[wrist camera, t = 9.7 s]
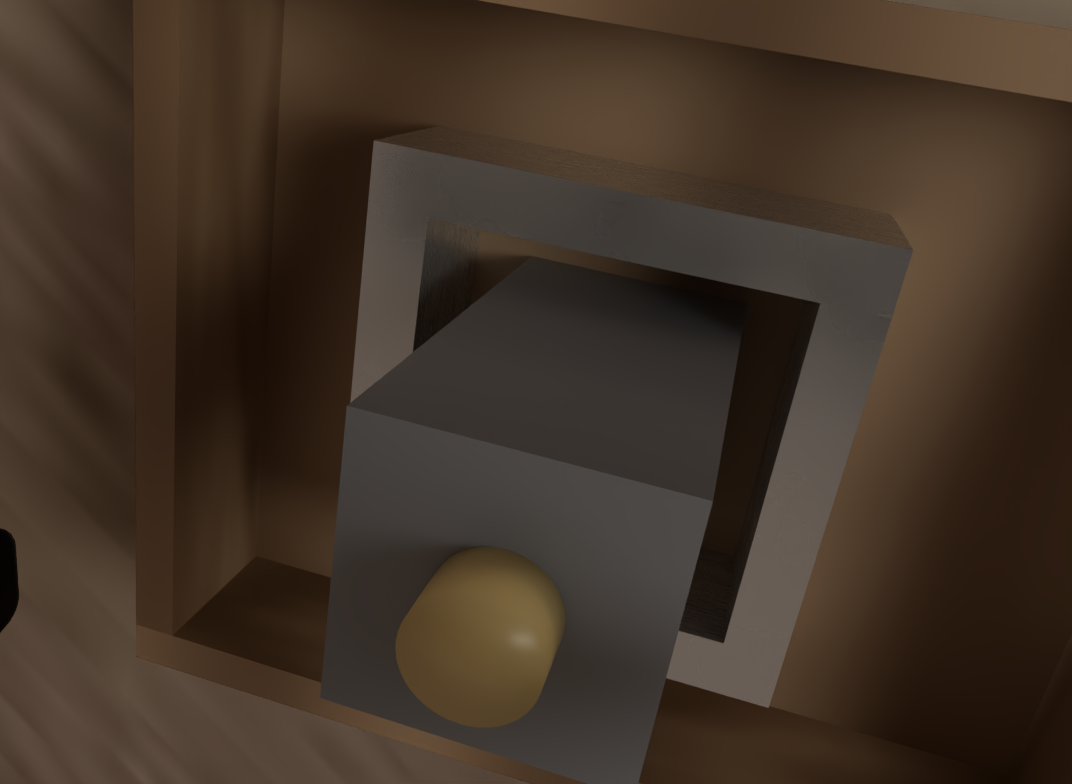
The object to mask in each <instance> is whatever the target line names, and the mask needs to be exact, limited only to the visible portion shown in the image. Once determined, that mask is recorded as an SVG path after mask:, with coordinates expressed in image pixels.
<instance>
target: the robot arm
mask: <svg viewBox="0 0 1072 784" xmlns="http://www.w3.org/2000/svg"><path fill="white" fill-rule="evenodd" d="M18 600H19V588H18V572H17V557H16V544H15V540H14V538H13V537H12V535H11V533H9V532H8V531H6V530H4V529H1V528H0V632H1V631H2V630H3V629H4V628H5V627H6V625H7V624H8V623H9V622H10V620H11V619H12V617H13V615H14V613H15V611H16V608H17V605H18Z"/></svg>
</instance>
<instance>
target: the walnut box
mask: <svg viewBox="0 0 1072 784" xmlns="http://www.w3.org/2000/svg"><path fill="white" fill-rule="evenodd" d="M133 118H134V295H135V472H136V648H137V657H138V658H141V659H144V660H147V661H150V662H153V663H156V664H160V665H163V666H166V667H169V668H172V669H175V670H178V671H181V672H185V673H188V674H191V675H194V676H197V677H200V678H203V679H206V680H209V681H213V682H216V683H219V684H222V685H225V686H228V687H231V688H234V689H237V690H241V691H244V692H247V693H250V694H253V695H256V696H259V697H262V698H266V699H269V700H272V701H275V702H278V703H281V704H284V705H287V706H290V707H294V708H297V709H300V710H303V711H306V712H309V713H312V714H315V715H318V716H322V717H325V718H328V719H331V720H334V721H337V722H340V723H343V724H346V725H350V726H353V727H356V728H359V729H362V730H365V731H368V732H371V733H375V734H378V735H381V736H384V737H387V738H390V739H393V740H396V741H399V742H403V743H406V744H409V745H412V746H415V747H418V748H421V749H424V750H427V751H431V752H434V753H437V754H440V755H443V756H446V757H449V758H452V759H456V760H459V761H462V762H465V763H468V764H471V765H474V766H477V767H480V768H484V769H487V770H490V771H493V772H496V773H499V774H502V775H505V776H508V777H512V778H515V779H518V780H521V781H524V782H527V783H530V784H586V783H583V782H580V781H577V780H574V779H571V778H568V777H564V776H561V775H558V774H555V773H552V772H549V771H546V770H543V769H540V768H536V767H533V766H530V765H527V764H524V763H521V762H518V761H515V760H511V759H508V758H505V757H502V756H499V755H496V754H493V753H490V752H487V751H483V750H480V749H477V748H474V747H471V746H468V745H465V744H462V743H458V742H455V741H452V740H449V739H446V738H443V737H440V736H437V735H434V734H430V733H427V732H424V731H421V730H418V729H415V728H412V727H409V726H405V725H402V724H399V723H396V722H393V721H390V720H387V719H384V718H381V717H377V716H374V715H371V714H368V713H365V712H362V711H359V710H356V709H352V708H349V707H346V706H343V705H340V704H337V703H334V702H331V701H328V700H324V699H321V698H320V693H321V682H322V671H323V660H324V649H325V638H326V627H327V617H328V606H329V595H330V584H331V573H332V562H333V551H334V540H335V529H336V518H337V507H338V497H339V486H340V475H341V464H342V453H343V442H344V431H345V420H346V409H347V405H348V404H350V401H351V390H352V378H353V367H354V356H355V345H356V334H357V322H358V311H359V300H360V289H361V278H362V266H363V255H364V244H365V233H366V222H367V210H368V199H369V188H370V177H371V166H372V154H373V143H374V140H378V139H382V138H387V137H391V136H396V135H400V134H404V133H409V132H413V131H418V130H422V129H427V128H431V127H436V126H440V125H441V126H446V127H451V128H456V129H461V130H466V131H471V132H477V133H482V134H487V135H492V136H497V137H502V138H507V139H512V140H517V141H522V142H527V143H532V144H537V145H542V146H547V147H553V148H558V149H563V150H568V151H573V152H578V153H583V154H588V155H593V156H598V157H603V158H608V159H613V160H618V161H623V162H628V163H634V164H639V165H644V166H649V167H654V168H659V169H664V170H669V171H674V172H679V173H684V174H689V175H694V176H699V177H704V178H710V179H715V180H720V181H725V182H730V183H735V184H740V185H745V186H750V187H755V188H760V189H765V190H770V191H775V192H780V193H785V194H791V195H796V196H801V197H806V198H811V199H816V200H821V201H826V202H831V203H836V204H841V205H846V206H851V207H856V208H861V209H867V210H872V211H877V212H882V213H887V214H892V215H893V217H894V218H895V220H896V222H897V223H898V225H899V227H900V228H901V230H902V232H903V233H904V235H905V237H906V238H907V240H908V242H909V243H910V245H911V247H912V248H913V253H912V256H911V259H910V262H909V266H908V269H907V272H906V275H905V278H904V281H903V285H902V288H901V291H900V294H899V297H898V300H897V304H896V307H895V310H894V313H893V316H892V319H891V322H890V326H889V329H888V332H887V335H886V338H885V341H884V345H883V348H882V351H881V354H880V357H879V360H878V364H877V367H876V370H875V373H874V376H873V379H872V383H871V386H870V389H869V392H868V395H867V398H866V402H865V405H864V408H863V411H862V414H861V417H860V421H859V424H858V427H857V430H856V433H855V436H854V440H853V443H852V446H851V449H850V452H849V455H848V458H847V462H846V465H845V468H844V471H843V474H842V477H841V481H840V484H839V487H838V490H837V493H836V496H835V500H834V503H833V506H832V509H831V512H830V515H829V519H828V522H827V525H826V528H825V531H824V534H823V538H822V541H821V544H820V547H819V550H818V553H817V557H816V560H815V563H814V566H813V569H812V572H811V575H810V579H809V582H808V585H807V588H806V591H805V594H804V598H803V601H802V604H801V607H800V610H799V613H798V617H797V620H796V623H795V626H794V629H793V632H792V636H791V639H790V642H789V645H788V648H787V651H786V655H785V658H784V661H783V664H782V667H781V670H780V674H779V677H778V680H777V683H776V686H775V689H774V692H773V696H772V699H771V702H770V705H769V708H767V707H763V706H760V705H757V704H753V703H750V702H746V701H743V700H740V699H736V698H733V697H729V696H726V695H722V694H719V693H716V692H712V691H709V690H705V689H702V688H699V687H695V686H692V685H688V684H685V683H681V682H678V681H675V680H671V679H668V678H666V680H665V684H664V688H663V692H662V695H661V699H660V703H659V707H658V711H657V714H656V718H655V722H654V726H653V729H652V733H651V737H650V741H649V745H648V748H647V752H646V756H645V760H644V763H643V767H642V771H641V775H640V779H639V782H638V784H1072V30H1066V29H1060V28H1054V27H1047V26H1041V25H1035V24H1029V23H1022V22H1016V21H1010V20H1003V19H997V18H991V17H985V16H978V15H972V14H966V13H959V12H953V11H947V10H941V9H934V8H928V7H922V6H915V5H909V4H903V3H897V2H890V1H884V0H133ZM532 256H535V257H539V258H544V259H548V260H553V261H557V262H562V263H566V264H571V265H575V266H580V267H584V268H589V269H593V270H598V271H602V272H607V273H611V274H616V275H620V276H625V277H629V278H634V279H638V280H643V281H647V282H652V283H656V284H661V285H665V286H669V287H674V288H678V289H683V290H687V291H692V292H696V293H701V294H705V295H710V296H714V297H719V298H723V299H728V300H732V301H737V302H741V303H746V304H747V307H746V313H745V318H744V324H743V330H742V336H741V342H740V347H739V353H738V359H737V365H736V371H735V376H734V382H733V388H732V394H731V400H730V405H729V411H728V417H727V423H726V429H725V434H724V440H723V446H722V452H721V458H720V463H719V469H718V475H717V481H716V487H715V492H714V498H713V503H712V507H711V511H710V514H709V518H708V522H707V526H706V529H705V533H704V537H703V541H702V545H701V547H704V548H708V549H712V550H716V551H719V552H723V553H727V554H731V555H734V552H735V549H736V545H737V542H738V538H739V534H740V531H741V527H742V524H743V520H744V516H745V513H746V509H747V505H748V502H749V498H750V495H751V491H752V487H753V484H754V480H755V477H756V473H757V469H758V466H759V462H760V459H761V455H762V451H763V448H764V444H765V440H766V437H767V433H768V430H769V426H770V422H771V419H772V415H773V412H774V408H775V404H776V401H777V397H778V394H779V390H780V386H781V383H782V379H783V375H784V372H785V368H786V365H787V361H788V357H789V354H790V350H791V347H792V343H793V339H794V336H795V332H796V329H797V325H798V321H799V318H800V314H801V310H802V307H803V303H804V300H803V299H799V298H794V297H790V296H785V295H780V294H776V293H771V292H766V291H762V290H757V289H753V288H748V287H743V286H739V285H734V284H729V283H725V282H720V281H716V280H711V279H706V278H702V277H697V276H692V275H688V274H683V273H679V272H674V271H669V270H665V269H660V268H655V267H651V266H646V265H642V264H637V263H632V262H628V261H623V260H618V259H614V258H609V257H605V256H600V255H595V254H591V253H586V252H581V251H577V250H572V249H568V248H563V247H558V246H554V245H549V244H544V243H540V242H535V241H531V240H526V239H521V238H517V237H512V236H507V235H503V234H498V233H494V232H489V231H484V230H480V235H479V242H478V250H477V257H476V264H475V272H474V279H473V286H472V294H471V301H470V306H471V305H472V304H473V303H475V302H476V301H477V300H478V299H480V298H481V297H482V296H483V295H485V294H486V293H487V292H488V291H490V290H491V289H492V288H493V287H494V286H496V285H497V284H498V283H499V282H501V281H502V280H503V279H504V278H506V277H507V276H508V275H509V274H511V273H512V272H513V271H514V270H516V269H517V268H518V267H519V266H520V265H522V264H523V263H524V262H525V261H527V260H528V259H529V258H530V257H532Z"/></svg>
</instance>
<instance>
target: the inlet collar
mask: <svg viewBox="0 0 1072 784" xmlns="http://www.w3.org/2000/svg"><path fill="white" fill-rule="evenodd" d="M480 230H484V231H489V232H494V233H498V234H503V235H507V236H512V237H517V238H521V239H526V240H531V241H535V242H540V243H544V244H549V245H554V246H558V247H563V248H568V249H572V250H577V251H581V252H586V253H591V254H595V255H600V256H605V257H609V258H614V259H618V260H623V261H628V262H632V263H637V264H642V265H646V266H651V267H655V268H660V269H665V270H669V271H674V272H679V273H683V274H688V275H692V276H697V277H702V278H706V279H711V280H716V281H720V282H725V283H729V284H734V285H739V286H743V287H748V288H753V289H757V290H762V291H766V292H771V293H776V294H780V295H785V296H790V297H794V298H799V299H803V300H804V303H803V307H802V310H801V314H800V318H799V321H798V325H797V329H796V332H795V336H794V339H793V343H792V347H791V350H790V354H789V357H788V361H787V365H786V368H785V372H784V375H783V379H782V383H781V386H780V390H779V394H778V397H777V401H776V404H775V408H774V412H773V415H772V419H771V422H770V426H769V430H768V433H767V437H766V440H765V444H764V448H763V451H762V455H761V459H760V462H759V466H758V469H757V473H756V477H755V480H754V484H753V487H752V491H751V495H750V498H749V502H748V505H747V509H746V513H745V516H744V520H743V524H742V527H741V531H740V534H739V538H738V542H737V545H736V549H735V552H734V555H731V554H727V553H723V552H719V551H716V550H712V549H708V548H704V547H701V548H700V552H699V556H698V560H697V563H696V567H695V571H694V575H693V578H692V582H691V586H690V590H689V594H688V597H687V601H686V605H685V609H684V612H683V616H682V620H681V624H680V628H679V631H678V635H677V639H676V643H675V646H674V650H673V654H672V658H671V662H670V665H669V669H668V673H667V677H666V678H668V679H671V680H675V681H678V682H681V683H685V684H688V685H692V686H695V687H699V688H702V689H705V690H709V691H712V692H716V693H719V694H722V695H726V696H729V697H733V698H736V699H740V700H743V701H746V702H750V703H753V704H757V705H760V706H763V707H767V708H769V705H770V702H771V699H772V696H773V692H774V689H775V686H776V683H777V680H778V677H779V674H780V670H781V667H782V664H783V661H784V658H785V655H786V651H787V648H788V645H789V642H790V639H791V636H792V632H793V629H794V626H795V623H796V620H797V617H798V613H799V610H800V607H801V604H802V601H803V598H804V594H805V591H806V588H807V585H808V582H809V579H810V575H811V572H812V569H813V566H814V563H815V560H816V557H817V553H818V550H819V547H820V544H821V541H822V538H823V534H824V531H825V528H826V525H827V522H828V519H829V515H830V512H831V509H832V506H833V503H834V500H835V496H836V493H837V490H838V487H839V484H840V481H841V477H842V474H843V471H844V468H845V465H846V462H847V458H848V455H849V452H850V449H851V446H852V443H853V440H854V436H855V433H856V430H857V427H858V424H859V421H860V417H861V414H862V411H863V408H864V405H865V402H866V398H867V395H868V392H869V389H870V386H871V383H872V379H873V376H874V373H875V370H876V367H877V364H878V360H879V357H880V354H881V351H882V348H883V345H884V341H885V338H886V335H887V332H888V329H889V326H890V322H891V319H892V316H893V313H894V310H895V307H896V304H897V300H898V297H899V294H900V291H901V288H902V285H903V281H904V278H905V275H906V272H907V269H908V266H909V262H910V259H911V256H912V253H913V248H912V247H911V245H910V243H909V242H908V240H907V238H906V237H905V235H904V233H903V232H902V230H901V228H900V227H899V225H898V223H897V222H896V220H895V218H894V217H893V215H892V214H887V213H882V212H877V211H872V210H867V209H861V208H856V207H851V206H846V205H841V204H836V203H831V202H826V201H821V200H816V199H811V198H806V197H801V196H796V195H791V194H785V193H780V192H775V191H770V190H765V189H760V188H755V187H750V186H745V185H740V184H735V183H730V182H725V181H720V180H715V179H710V178H704V177H699V176H694V175H689V174H684V173H679V172H674V171H669V170H664V169H659V168H654V167H649V166H644V165H639V164H634V163H628V162H623V161H618V160H613V159H608V158H603V157H598V156H593V155H588V154H583V153H578V152H573V151H568V150H563V149H558V148H553V147H547V146H542V145H537V144H532V143H527V142H522V141H517V140H512V139H507V138H502V137H497V136H492V135H487V134H482V133H477V132H471V131H466V130H461V129H456V128H451V127H446V126H441V125H440V126H436V127H431V128H427V129H422V130H418V131H413V132H409V133H404V134H400V135H396V136H391V137H387V138H382V139H378V140H374V143H373V154H372V166H371V177H370V188H369V199H368V210H367V222H366V233H365V244H364V255H363V266H362V278H361V289H360V300H359V311H358V322H357V334H356V345H355V356H354V367H353V378H352V390H351V401H350V403H351V402H352V401H353V400H354V399H356V398H357V397H358V396H359V395H361V394H362V393H363V392H364V391H366V390H367V389H368V388H369V387H371V386H372V385H373V384H374V383H376V382H377V381H378V380H379V379H380V378H382V377H383V376H384V375H385V374H387V373H388V372H389V371H390V370H392V369H393V368H394V367H395V366H397V365H398V364H399V363H400V362H402V361H403V360H404V359H405V358H407V357H408V356H409V355H410V354H411V353H413V352H414V351H415V350H416V349H418V348H419V347H420V346H421V345H423V344H424V343H425V342H426V341H428V340H429V339H430V338H431V337H433V336H434V335H435V334H436V333H437V332H439V331H440V330H441V329H442V328H444V327H445V326H446V325H447V324H449V323H450V322H451V321H452V320H454V319H455V318H456V317H457V316H459V315H460V314H461V313H462V312H463V311H465V310H466V309H467V308H468V307H470V301H471V294H472V286H473V279H474V272H475V264H476V257H477V250H478V242H479V235H480Z"/></svg>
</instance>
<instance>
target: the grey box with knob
mask: <svg viewBox="0 0 1072 784" xmlns="http://www.w3.org/2000/svg"><path fill="white" fill-rule="evenodd" d="M746 307H747V304H746V303H741V302H737V301H732V300H728V299H723V298H719V297H714V296H710V295H705V294H701V293H696V292H692V291H687V290H683V289H678V288H674V287H669V286H665V285H661V284H656V283H652V282H647V281H643V280H638V279H634V278H629V277H625V276H620V275H616V274H611V273H607V272H602V271H598V270H593V269H589V268H584V267H580V266H575V265H571V264H566V263H562V262H557V261H553V260H548V259H544V258H539V257H535V256H532V257H530V258H529V259H528V260H527V261H525V262H524V263H523V264H522V265H520V266H519V267H518V268H517V269H516V270H514V271H513V272H512V273H511V274H509V275H508V276H507V277H506V278H504V279H503V280H502V281H501V282H499V283H498V284H497V285H496V286H494V287H493V288H492V289H491V290H490V291H488V292H487V293H486V294H485V295H483V296H482V297H481V298H480V299H478V300H477V301H476V302H475V303H473V304H472V305H471V306H470V307H468V308H467V309H466V310H465V311H463V312H462V313H461V314H460V315H459V316H457V317H456V318H455V319H454V320H452V321H451V322H450V323H449V324H447V325H446V326H445V327H444V328H442V329H441V330H440V331H439V332H437V333H436V334H435V335H434V336H433V337H431V338H430V339H429V340H428V341H426V342H425V343H424V344H423V345H421V346H420V347H419V348H418V349H416V350H415V351H414V352H413V353H411V354H410V355H409V356H408V357H407V358H405V359H404V360H403V361H402V362H400V363H399V364H398V365H397V366H395V367H394V368H393V369H392V370H390V371H389V372H388V373H387V374H385V375H384V376H383V377H382V378H380V379H379V380H378V381H377V382H376V383H374V384H373V385H372V386H371V387H369V388H368V389H367V390H366V391H364V392H363V393H362V394H361V395H359V396H358V397H357V398H356V399H354V400H353V401H352V402H351V403H350V404H348V405H347V409H346V420H345V431H344V442H343V453H342V464H341V475H340V486H339V497H338V507H337V518H336V529H335V540H334V551H333V562H332V573H331V584H330V595H329V606H328V617H327V627H326V638H325V649H324V660H323V671H322V682H321V693H320V698H321V699H324V700H328V701H331V702H334V703H337V704H340V705H343V706H346V707H349V708H352V709H356V710H359V711H362V712H365V713H368V714H371V715H374V716H377V717H381V718H384V719H387V720H390V721H393V722H396V723H399V724H402V725H405V726H409V727H412V728H415V729H418V730H421V731H424V732H427V733H430V734H434V735H437V736H440V737H443V738H446V739H449V740H452V741H455V742H458V743H462V744H465V745H468V746H471V747H474V748H477V749H480V750H483V751H487V752H490V753H493V754H496V755H499V756H502V757H505V758H508V759H511V760H515V761H518V762H521V763H524V764H527V765H530V766H533V767H536V768H540V769H543V770H546V771H549V772H552V773H555V774H558V775H561V776H564V777H568V778H571V779H574V780H577V781H580V782H583V783H586V784H638V782H639V779H640V775H641V771H642V767H643V763H644V760H645V756H646V752H647V748H648V745H649V741H650V737H651V733H652V729H653V726H654V722H655V718H656V714H657V711H658V707H659V703H660V699H661V695H662V692H663V688H664V684H665V680H666V677H667V673H668V669H669V665H670V662H671V658H672V654H673V650H674V646H675V643H676V639H677V635H678V631H679V628H680V624H681V620H682V616H683V612H684V609H685V605H686V601H687V597H688V594H689V590H690V586H691V582H692V578H693V575H694V571H695V567H696V563H697V560H698V556H699V552H700V548H701V545H702V541H703V537H704V533H705V529H706V526H707V522H708V518H709V514H710V511H711V507H712V503H713V498H714V492H715V487H716V481H717V475H718V469H719V463H720V458H721V452H722V446H723V440H724V434H725V429H726V423H727V417H728V411H729V405H730V400H731V394H732V388H733V382H734V376H735V371H736V365H737V359H738V353H739V347H740V342H741V336H742V330H743V324H744V318H745V313H746Z"/></svg>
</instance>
